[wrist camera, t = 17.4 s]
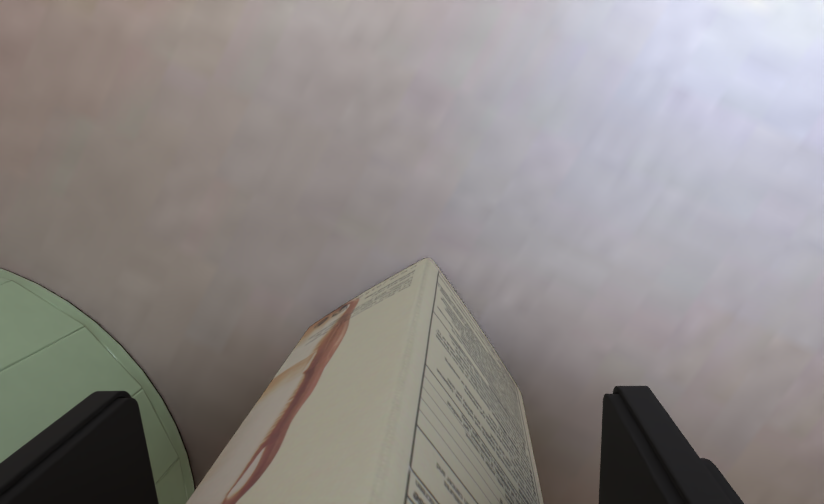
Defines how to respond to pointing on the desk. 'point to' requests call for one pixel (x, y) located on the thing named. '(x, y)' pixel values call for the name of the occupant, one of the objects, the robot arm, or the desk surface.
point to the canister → (74, 379)
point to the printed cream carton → (384, 411)
